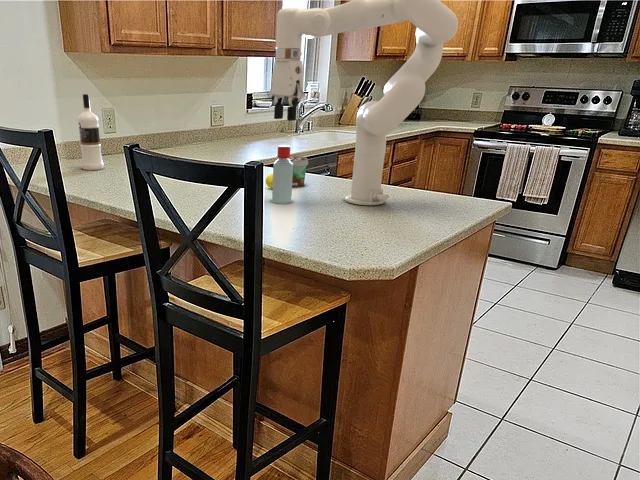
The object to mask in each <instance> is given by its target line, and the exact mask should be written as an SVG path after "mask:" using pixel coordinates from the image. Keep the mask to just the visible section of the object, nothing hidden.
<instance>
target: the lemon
mask: <svg viewBox="0 0 640 480" xmlns="http://www.w3.org/2000/svg"><path fill="white" fill-rule="evenodd" d="M265 184H266V186H267V187H268V188H270V189H273V173H270V174H268V175H266V178H265Z"/></svg>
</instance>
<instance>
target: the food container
mask: <svg viewBox="0 0 640 480" xmlns="http://www.w3.org/2000/svg"><path fill="white" fill-rule="evenodd" d="M289 160H290V161H291V163H293V178H292V188H302V187H304V186H305V180H306V173H307V166H308V165H309V160H308V158H307V157H306V156H300V155H293V159H292V160H291V159H289Z"/></svg>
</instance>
